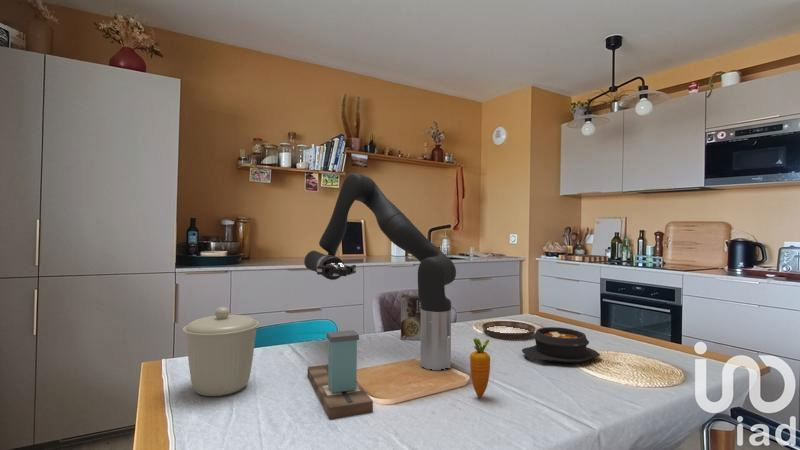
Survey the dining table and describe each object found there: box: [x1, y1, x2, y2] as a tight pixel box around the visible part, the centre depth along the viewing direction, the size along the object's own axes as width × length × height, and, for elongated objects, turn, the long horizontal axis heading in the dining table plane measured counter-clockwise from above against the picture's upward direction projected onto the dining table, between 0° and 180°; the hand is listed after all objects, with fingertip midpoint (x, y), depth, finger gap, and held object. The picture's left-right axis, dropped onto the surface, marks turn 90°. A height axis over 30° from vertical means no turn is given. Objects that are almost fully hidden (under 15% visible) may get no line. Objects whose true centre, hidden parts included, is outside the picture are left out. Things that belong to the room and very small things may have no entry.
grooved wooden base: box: [306, 364, 374, 420], centre depth 104 cm, size 28×10×3 cm, turn 22°
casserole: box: [521, 326, 601, 364], centre depth 133 cm, size 25×19×8 cm
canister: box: [182, 306, 260, 397], centre depth 106 cm, size 18×18×21 cm
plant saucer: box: [481, 320, 537, 341], centre depth 163 cm, size 21×21×3 cm
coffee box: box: [400, 293, 421, 341], centre depth 156 cm, size 9×6×16 cm
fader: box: [326, 329, 360, 393], centre depth 99 cm, size 5×7×13 cm
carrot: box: [469, 337, 491, 399], centre depth 101 cm, size 5×5×15 cm
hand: (344, 272), depth 119 cm, fingers closed
